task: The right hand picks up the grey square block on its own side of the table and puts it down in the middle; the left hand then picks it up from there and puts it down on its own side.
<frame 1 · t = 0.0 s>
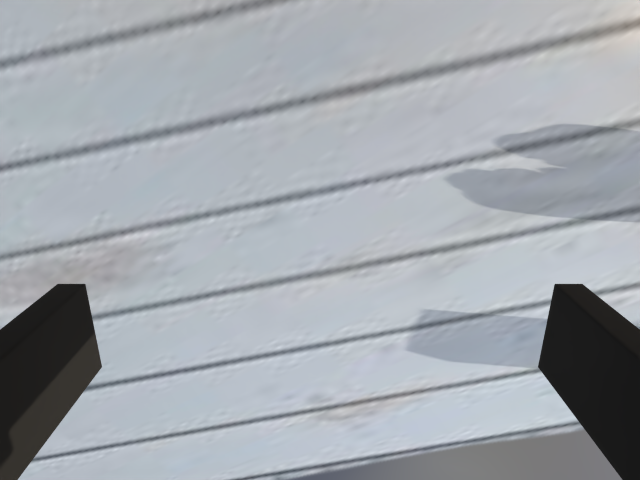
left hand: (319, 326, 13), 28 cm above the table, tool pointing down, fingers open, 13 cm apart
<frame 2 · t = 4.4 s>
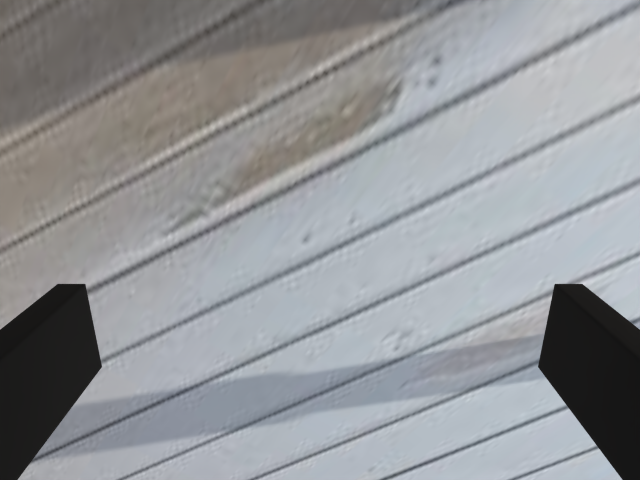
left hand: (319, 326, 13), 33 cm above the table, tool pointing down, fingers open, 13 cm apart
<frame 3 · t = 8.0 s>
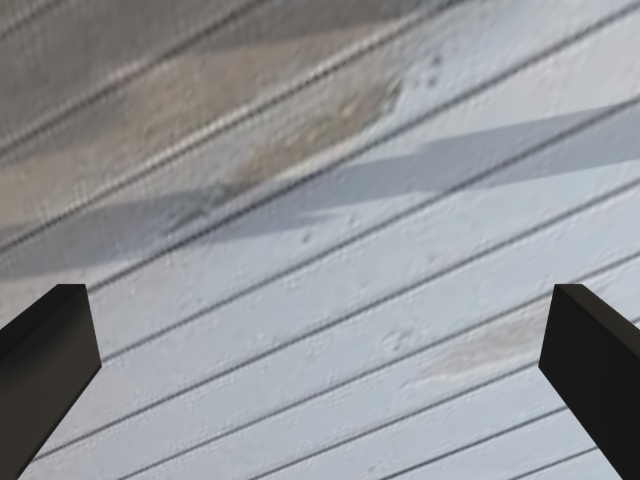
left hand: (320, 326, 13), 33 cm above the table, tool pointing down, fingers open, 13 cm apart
when the right hand's fingers open (1 cm above the table, at t = 11.8 s): grey square block stays where it is, on the table.
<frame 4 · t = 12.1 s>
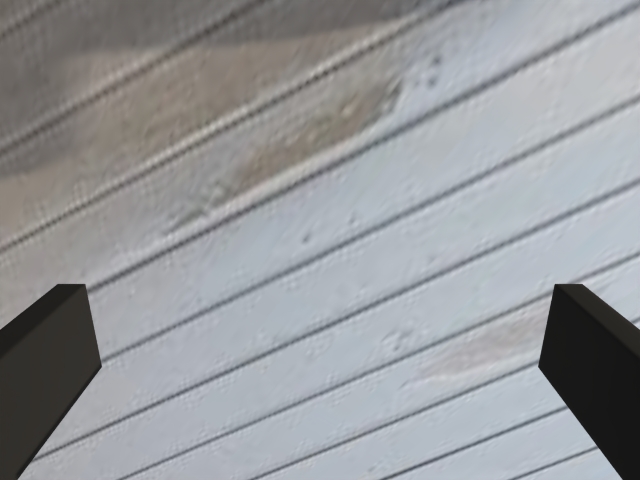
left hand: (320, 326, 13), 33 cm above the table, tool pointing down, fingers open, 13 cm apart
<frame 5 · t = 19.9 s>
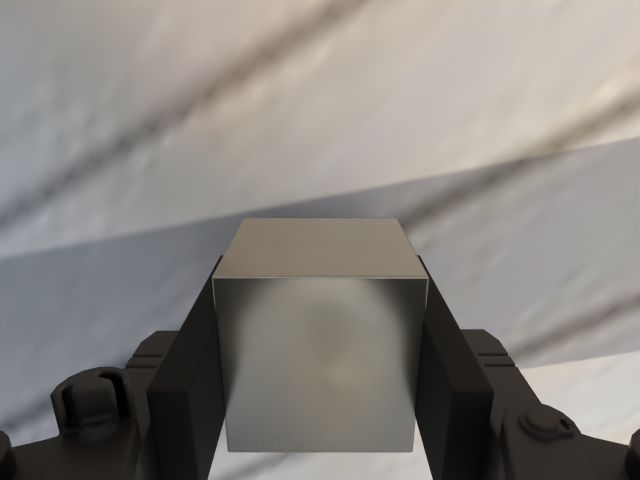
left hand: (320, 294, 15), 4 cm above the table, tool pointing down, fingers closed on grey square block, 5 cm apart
grey square block: (320, 290, 15), point 3 cm above the table, touching left hand
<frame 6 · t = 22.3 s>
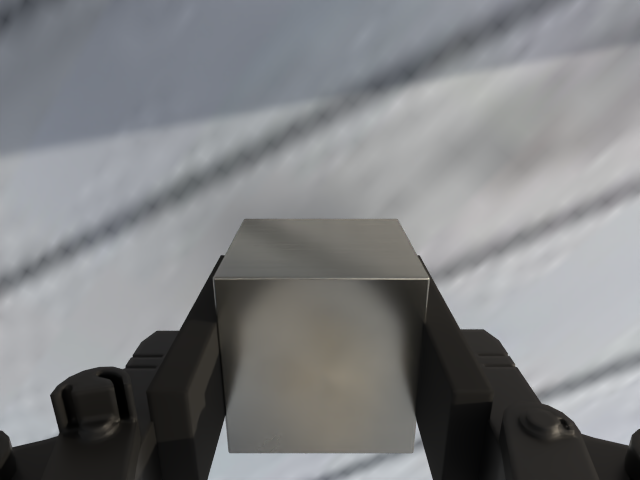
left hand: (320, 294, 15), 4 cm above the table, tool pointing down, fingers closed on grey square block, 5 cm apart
grey square block: (320, 290, 15), point 3 cm above the table, touching left hand
when the left hand's fingers open (1 cm above the table, at t = 24.7 s): grey square block stays where it is, on the table.
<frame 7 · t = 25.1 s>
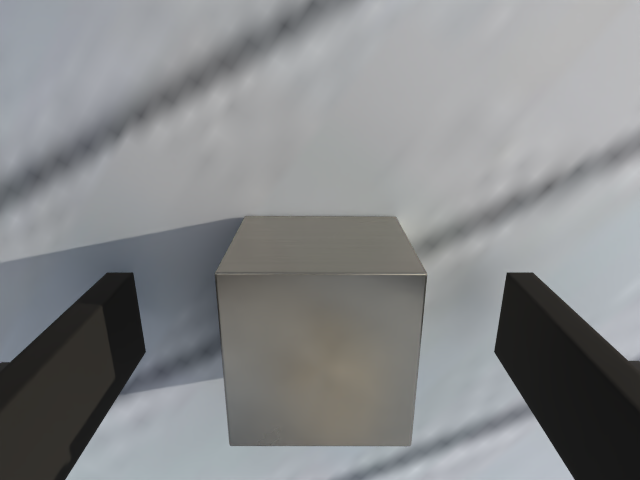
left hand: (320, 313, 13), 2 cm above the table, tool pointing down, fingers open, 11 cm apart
grey square block: (320, 287, 15), on the table
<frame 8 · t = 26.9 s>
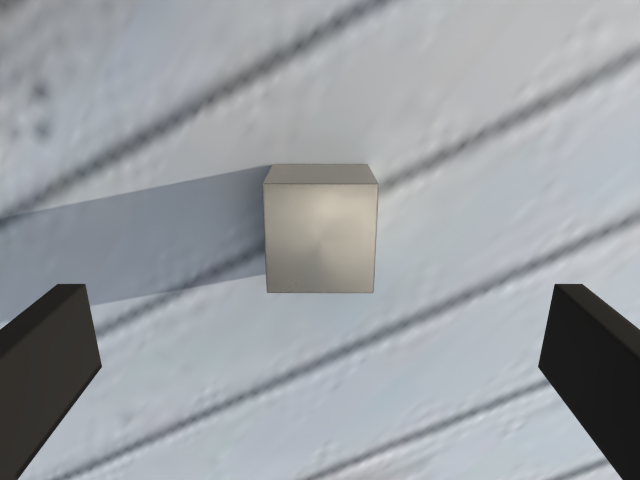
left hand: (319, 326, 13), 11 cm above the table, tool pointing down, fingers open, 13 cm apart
grey square block: (320, 212, 23), on the table
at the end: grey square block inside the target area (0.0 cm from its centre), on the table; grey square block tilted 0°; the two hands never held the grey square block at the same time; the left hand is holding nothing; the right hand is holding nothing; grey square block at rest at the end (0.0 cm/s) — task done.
